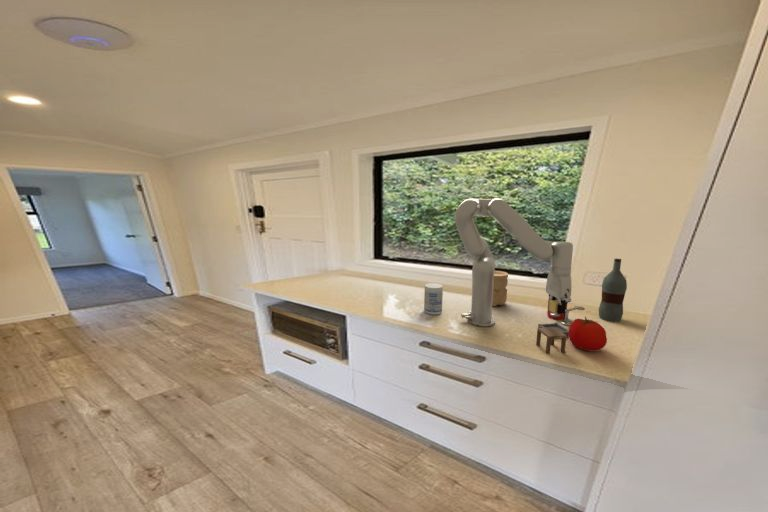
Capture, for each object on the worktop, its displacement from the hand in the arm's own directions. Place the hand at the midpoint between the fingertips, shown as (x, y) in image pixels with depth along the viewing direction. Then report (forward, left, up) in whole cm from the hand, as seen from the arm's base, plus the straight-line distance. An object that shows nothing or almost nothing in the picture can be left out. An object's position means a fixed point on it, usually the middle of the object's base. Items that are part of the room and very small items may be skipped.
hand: (557, 310), depth 122 cm
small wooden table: (-11, -13, -10) cm, 20 cm away
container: (-9, +38, -10) cm, 41 cm away
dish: (0, 0, -10) cm, 10 cm away
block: (0, 0, 0) cm, 0 cm away
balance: (+11, +7, -10) cm, 16 cm away
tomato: (+3, -14, -10) cm, 18 cm away
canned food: (+12, +15, -10) cm, 22 cm away
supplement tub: (-47, +30, -10) cm, 57 cm away
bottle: (+36, +10, -10) cm, 39 cm away
